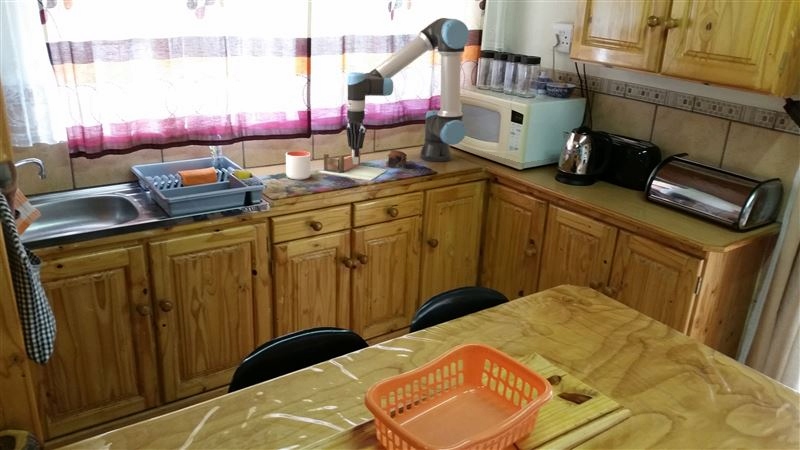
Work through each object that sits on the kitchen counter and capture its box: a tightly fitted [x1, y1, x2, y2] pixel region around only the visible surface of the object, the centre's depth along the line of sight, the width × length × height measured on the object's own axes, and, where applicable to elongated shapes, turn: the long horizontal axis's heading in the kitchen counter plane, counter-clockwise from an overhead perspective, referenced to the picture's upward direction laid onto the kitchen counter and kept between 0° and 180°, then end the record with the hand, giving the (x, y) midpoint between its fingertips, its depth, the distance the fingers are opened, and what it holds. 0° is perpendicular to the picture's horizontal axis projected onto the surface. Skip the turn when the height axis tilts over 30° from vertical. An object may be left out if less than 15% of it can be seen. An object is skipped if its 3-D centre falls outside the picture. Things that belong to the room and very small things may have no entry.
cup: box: [285, 150, 312, 181], centre depth 265 cm, size 10×10×10 cm
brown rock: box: [385, 149, 407, 169], centre depth 290 cm, size 12×10×8 cm
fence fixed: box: [323, 153, 345, 173], centre depth 274 cm, size 9×2×8 cm, turn 69°
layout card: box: [317, 165, 388, 182], centre depth 278 cm, size 24×19×1 cm
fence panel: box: [344, 149, 361, 171], centre depth 280 cm, size 13×2×7 cm, turn 153°
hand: (355, 163), depth 280 cm, fingers closed
